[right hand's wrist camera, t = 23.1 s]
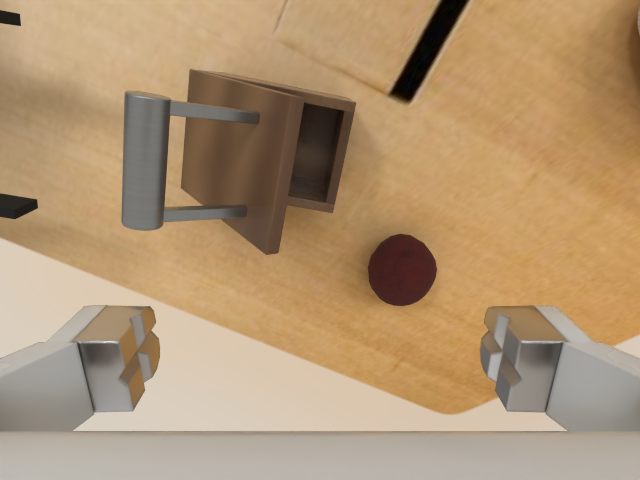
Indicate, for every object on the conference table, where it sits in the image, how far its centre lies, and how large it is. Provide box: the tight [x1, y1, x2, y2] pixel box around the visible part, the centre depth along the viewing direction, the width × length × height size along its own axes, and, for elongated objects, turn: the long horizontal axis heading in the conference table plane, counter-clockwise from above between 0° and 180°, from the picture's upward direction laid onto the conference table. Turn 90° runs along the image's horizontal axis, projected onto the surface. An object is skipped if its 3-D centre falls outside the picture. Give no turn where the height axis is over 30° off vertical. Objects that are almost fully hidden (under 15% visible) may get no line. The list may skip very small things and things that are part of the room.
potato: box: [368, 234, 437, 306], centre depth 45 cm, size 7×8×7 cm
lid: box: [122, 69, 304, 255], centre depth 27 cm, size 14×10×8 cm
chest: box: [198, 70, 356, 213], centre depth 39 cm, size 13×10×10 cm
